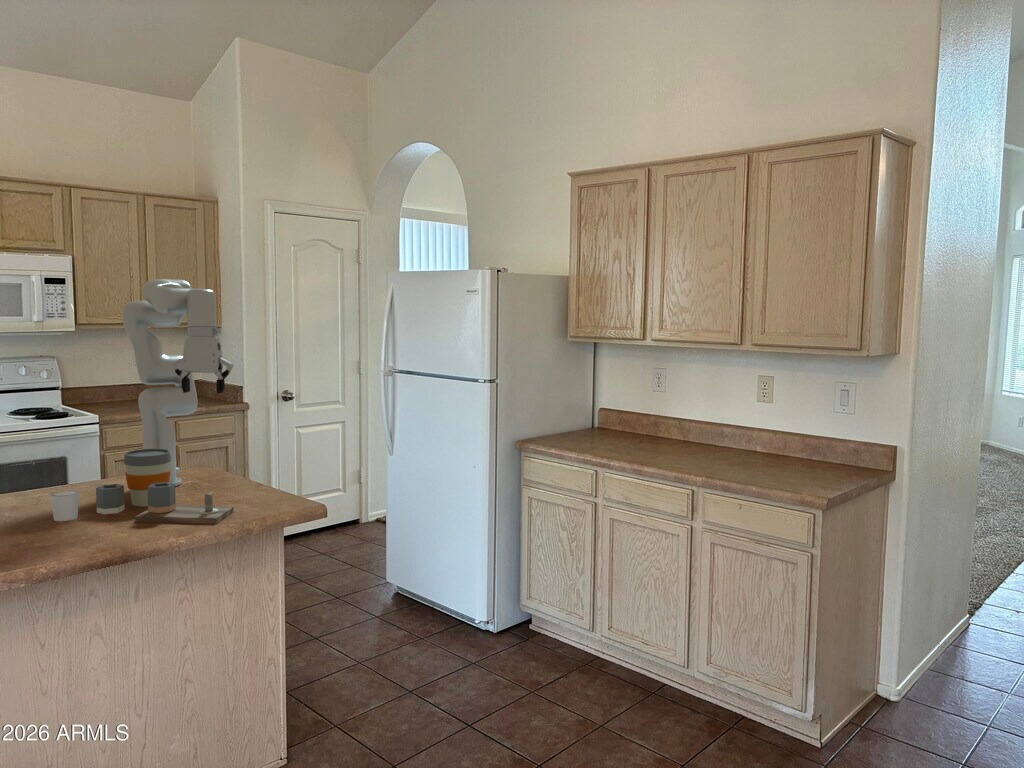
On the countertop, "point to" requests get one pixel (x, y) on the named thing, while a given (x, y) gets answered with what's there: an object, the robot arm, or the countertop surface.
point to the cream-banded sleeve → (110, 498)
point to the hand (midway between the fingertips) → (203, 392)
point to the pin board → (189, 514)
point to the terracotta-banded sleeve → (161, 497)
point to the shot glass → (65, 505)
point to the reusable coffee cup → (146, 472)
